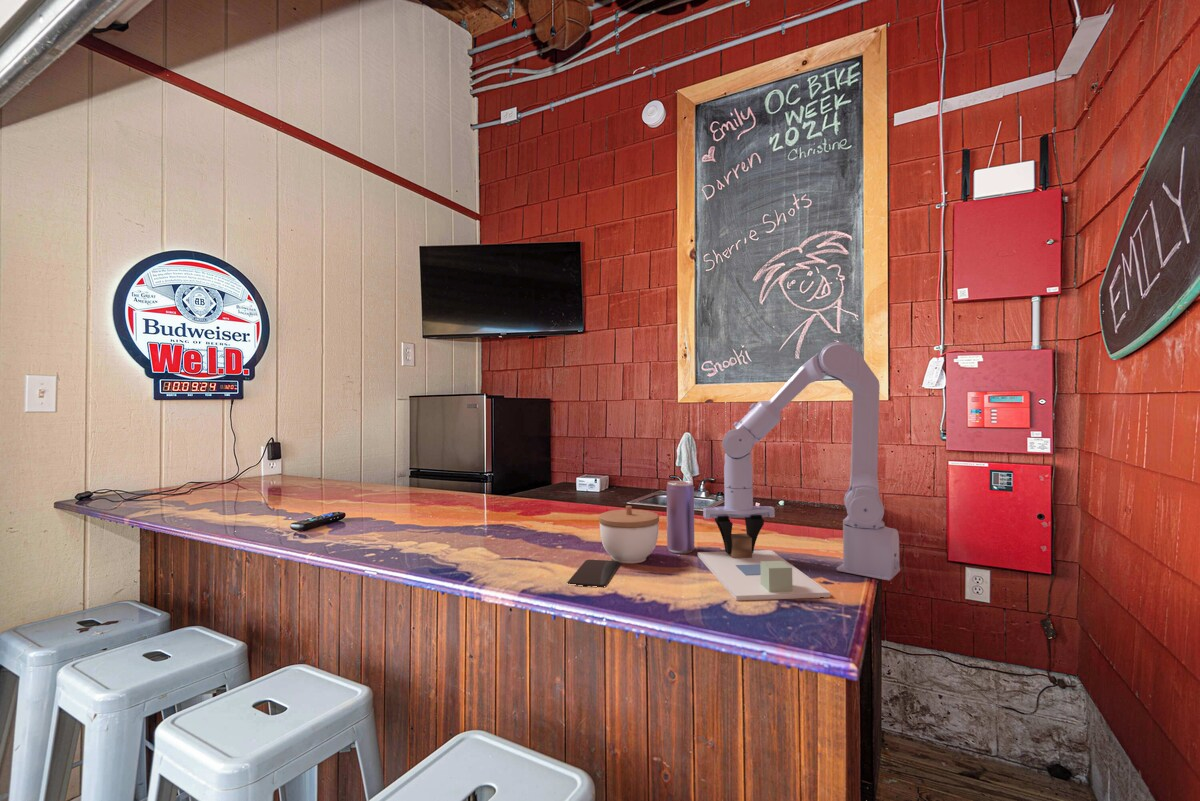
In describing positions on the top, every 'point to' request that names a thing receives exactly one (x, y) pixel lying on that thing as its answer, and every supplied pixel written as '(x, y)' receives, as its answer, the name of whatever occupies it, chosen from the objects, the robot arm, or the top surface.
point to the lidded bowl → (629, 534)
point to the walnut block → (741, 546)
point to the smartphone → (594, 573)
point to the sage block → (776, 576)
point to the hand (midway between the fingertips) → (739, 552)
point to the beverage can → (680, 516)
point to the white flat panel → (757, 577)
